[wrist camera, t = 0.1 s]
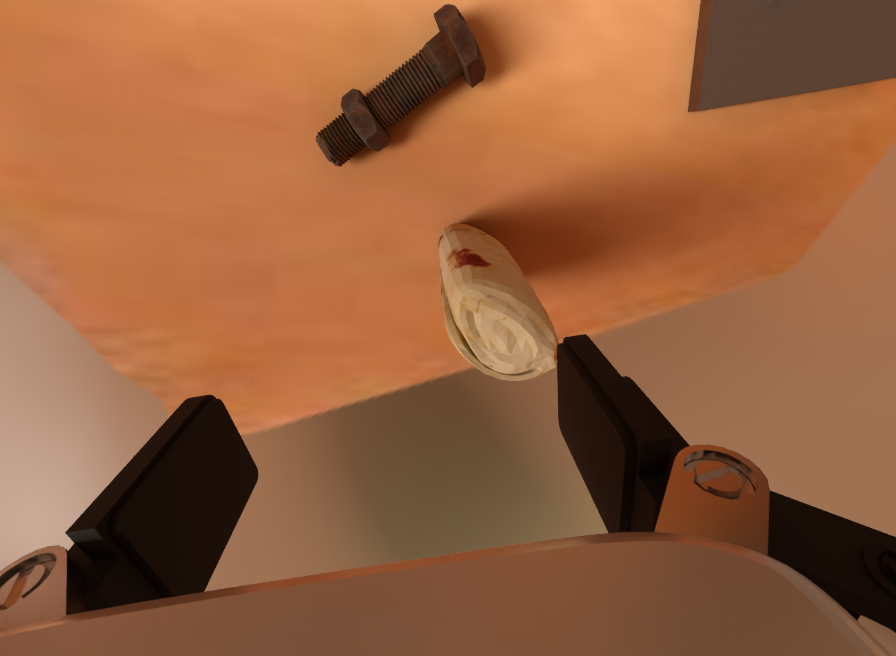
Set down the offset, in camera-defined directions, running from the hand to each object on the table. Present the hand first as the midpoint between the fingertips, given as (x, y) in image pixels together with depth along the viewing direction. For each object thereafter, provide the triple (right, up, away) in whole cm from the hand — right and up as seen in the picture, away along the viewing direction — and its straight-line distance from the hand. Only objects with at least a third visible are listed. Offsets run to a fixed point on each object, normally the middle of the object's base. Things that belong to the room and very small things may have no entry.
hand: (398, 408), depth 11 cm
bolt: (-3, +23, +24) cm, 33 cm away
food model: (+4, +10, +30) cm, 32 cm away
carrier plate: (+31, +35, +20) cm, 51 cm away
